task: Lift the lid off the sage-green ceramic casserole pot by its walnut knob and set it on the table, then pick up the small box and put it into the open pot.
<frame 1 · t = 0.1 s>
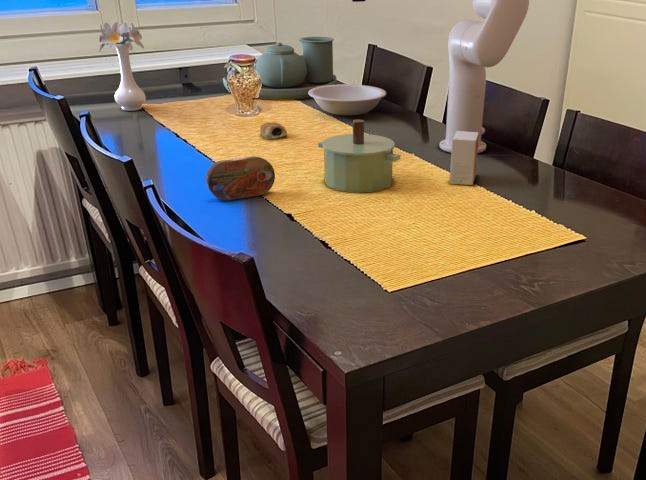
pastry: (272, 136, 208), on the table
pot lid: (358, 145, 170), point 8 cm above the table, touching casserole
soup bowl: (347, 114, 232), on the table
flower vase: (130, 109, 233), on the table
casserole: (358, 181, 174), on the table
tea set: (280, 89, 262), on the table
small box: (462, 180, 177), on the table
tin: (242, 197, 164), on the table
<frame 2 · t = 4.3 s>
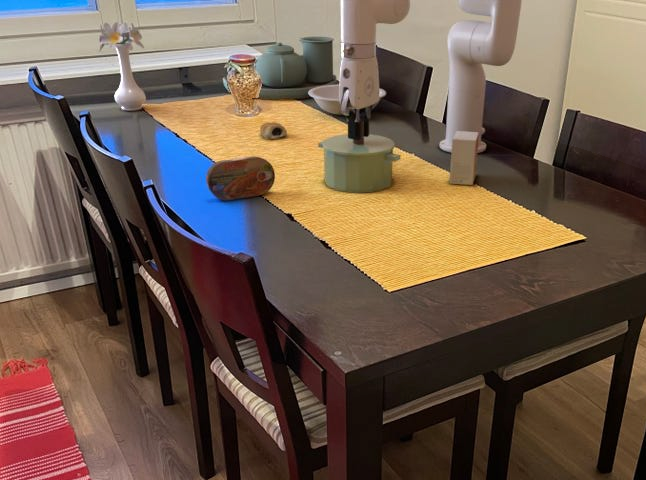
hand: (358, 136, 169), 10 cm above the table, tool pointing down, fingers closed on pot lid, 2 cm apart
pot lid: (358, 145, 170), point 8 cm above the table, touching casserole, gripper
everything else where it was.
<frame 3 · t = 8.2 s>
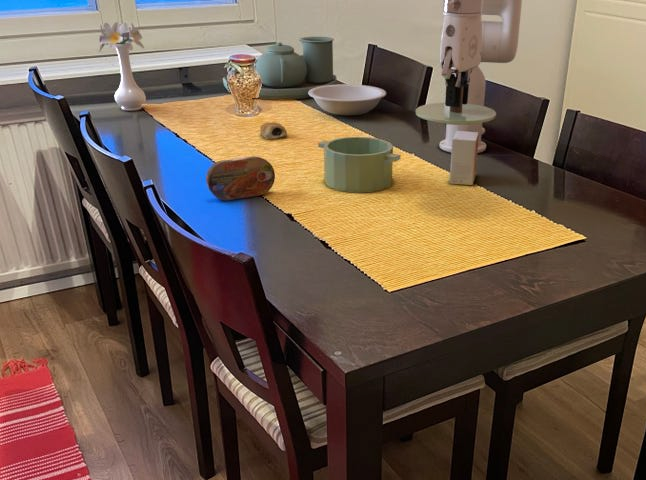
hand: (456, 104, 152), 21 cm above the table, tool pointing down, fingers closed on pot lid, 2 cm apart
pot lid: (455, 114, 153), point 19 cm above the table, touching gripper
everything else where it was.
when the fingers open (3 cm above the table, at t = 12.3 s): pot lid stays where it is, point 1 cm above the table.
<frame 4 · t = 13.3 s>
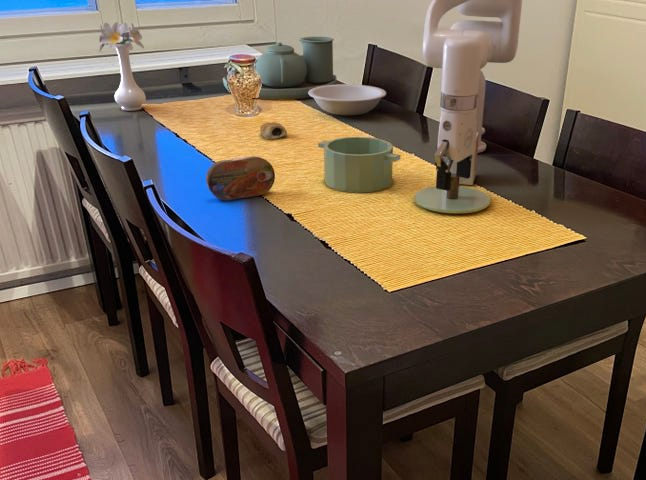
hand: (453, 183, 161), 4 cm above the table, tool pointing down, fingers open, 9 cm apart
pot lid: (452, 200, 163), point 1 cm above the table
everything else where it was.
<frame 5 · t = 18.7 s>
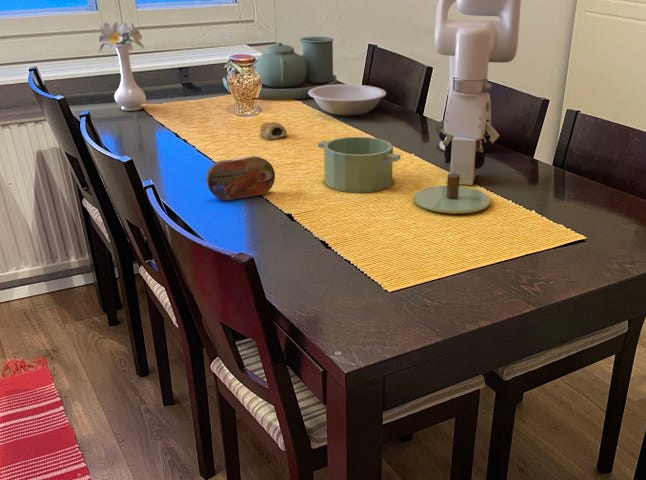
hand: (463, 164, 175), 4 cm above the table, tool pointing down, fingers closed on small box, 7 cm apart
small box: (462, 180, 177), on the table, touching gripper
everything else where it was.
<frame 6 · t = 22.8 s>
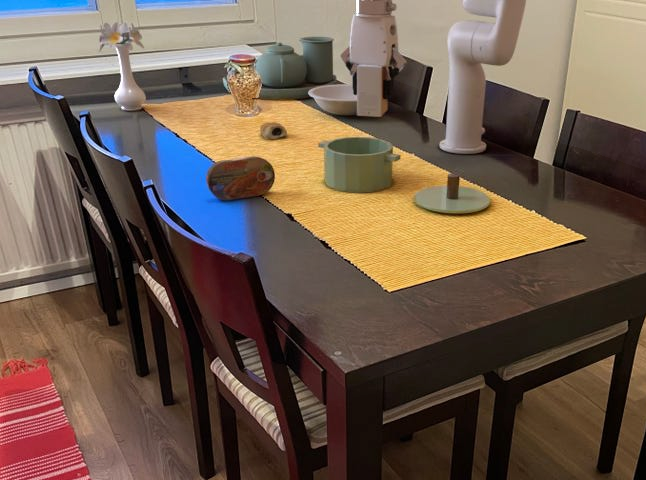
hand: (372, 95, 165), 20 cm above the table, tool pointing down, fingers closed on small box, 7 cm apart
small box: (372, 113, 167), point 16 cm above the table, touching gripper
everything else where it was.
when the fingers open (4 cm above the table, at t = 27.0 s): small box stays where it is, resting on casserole.
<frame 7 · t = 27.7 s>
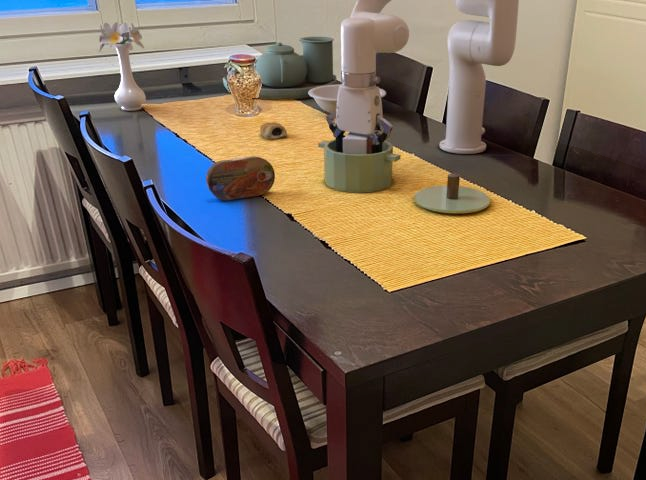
hand: (358, 157, 172), 6 cm above the table, tool pointing down, fingers open, 9 cm apart
small box: (358, 180, 174), resting on casserole
everything else where it was.
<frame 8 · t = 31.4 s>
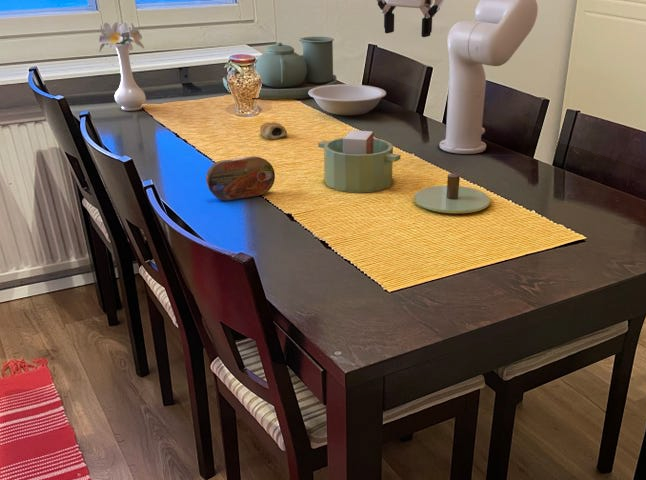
hand: (407, 34, 171), 30 cm above the table, tool pointing down, fingers open, 9 cm apart
nothing on the table moved.
at the end: pot lid inside the target area (0.0 cm from its centre), point 0.6 cm above the table; small box inside the target area in the casserole (0.0 cm from its centre), point 0.3 cm above the casserole's base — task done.
